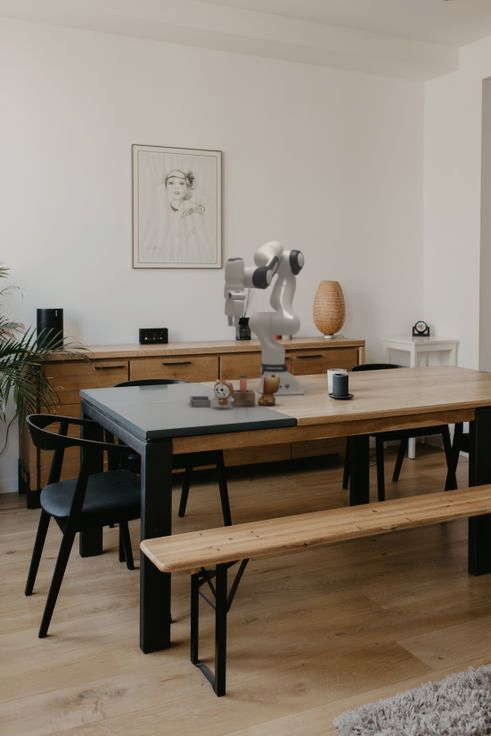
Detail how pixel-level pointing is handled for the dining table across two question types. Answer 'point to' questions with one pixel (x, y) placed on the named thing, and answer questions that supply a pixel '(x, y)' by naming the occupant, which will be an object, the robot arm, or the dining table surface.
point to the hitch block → (243, 398)
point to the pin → (243, 383)
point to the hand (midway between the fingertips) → (233, 326)
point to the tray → (199, 401)
